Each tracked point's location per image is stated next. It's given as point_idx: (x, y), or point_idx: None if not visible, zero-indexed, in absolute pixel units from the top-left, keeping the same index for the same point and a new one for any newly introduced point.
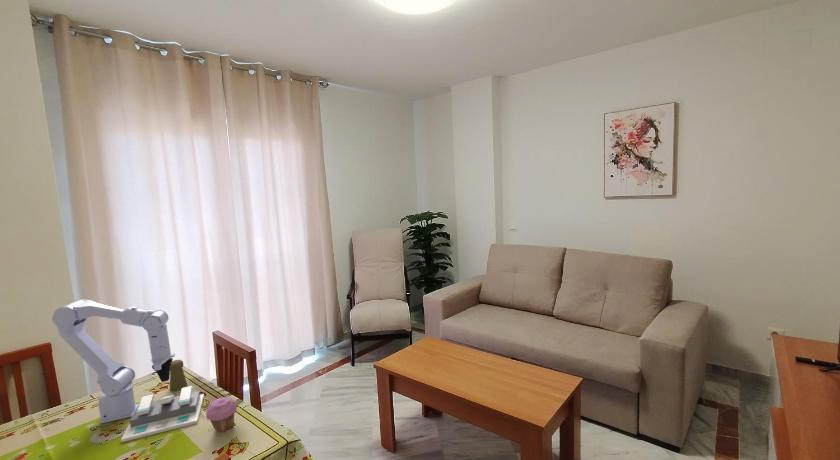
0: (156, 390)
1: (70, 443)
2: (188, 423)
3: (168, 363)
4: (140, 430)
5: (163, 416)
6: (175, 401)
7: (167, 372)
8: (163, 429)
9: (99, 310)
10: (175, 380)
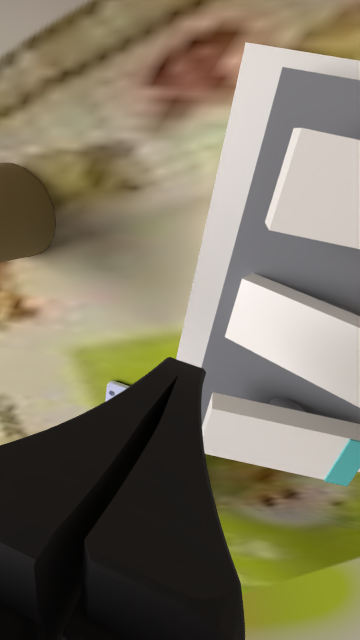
0: (9, 307)
1: (253, 554)
2: None
3: (192, 638)
4: None
5: None
6: (319, 271)
7: (199, 451)
8: None
9: None
10: (3, 238)
